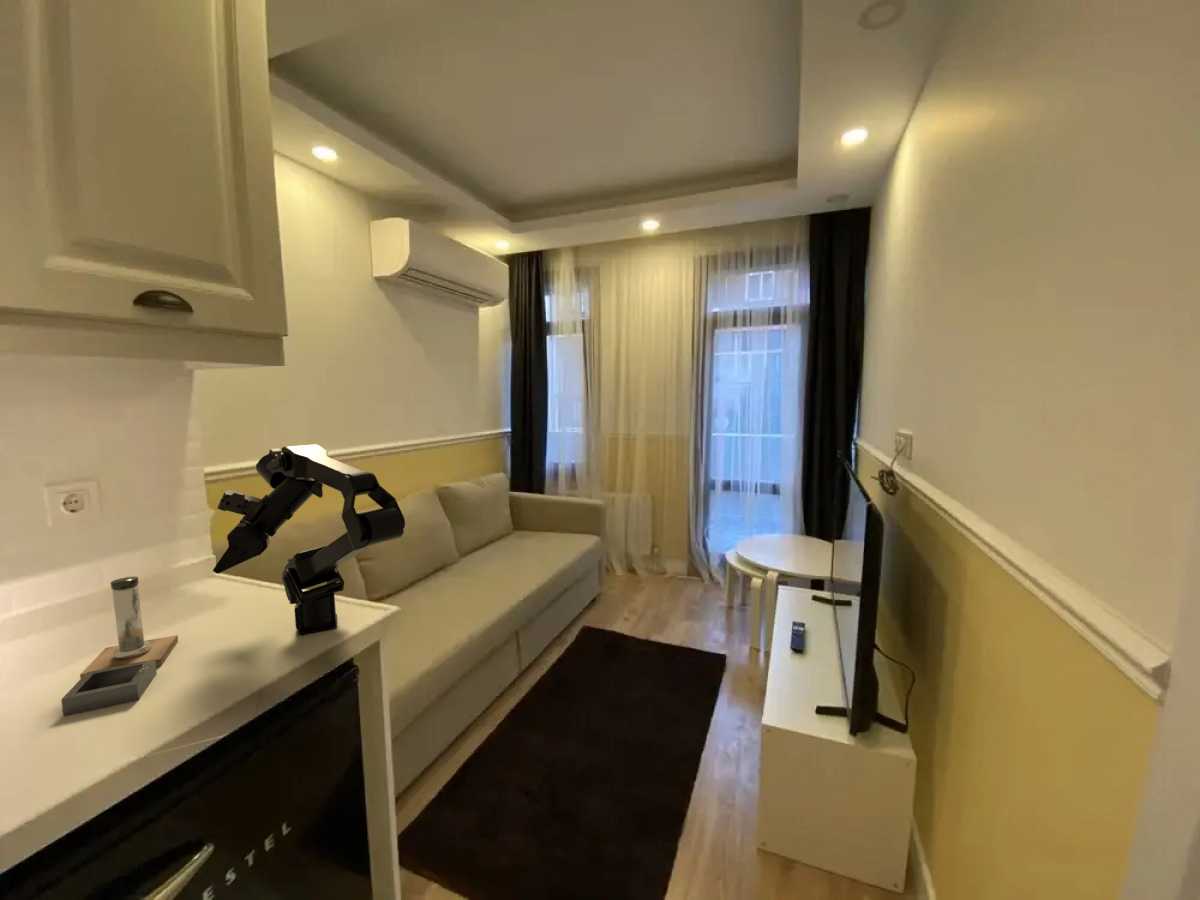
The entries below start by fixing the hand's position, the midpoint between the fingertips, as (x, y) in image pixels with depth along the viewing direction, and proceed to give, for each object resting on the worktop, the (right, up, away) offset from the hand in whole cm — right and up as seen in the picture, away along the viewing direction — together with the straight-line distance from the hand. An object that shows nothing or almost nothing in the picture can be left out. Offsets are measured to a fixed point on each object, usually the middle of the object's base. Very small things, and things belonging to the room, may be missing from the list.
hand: (220, 564), depth 95 cm
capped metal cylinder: (-9, -13, -8) cm, 18 cm away
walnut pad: (-9, -15, -8) cm, 19 cm away
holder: (-3, -16, -18) cm, 24 cm away
